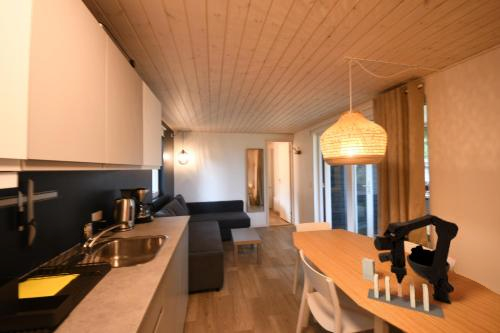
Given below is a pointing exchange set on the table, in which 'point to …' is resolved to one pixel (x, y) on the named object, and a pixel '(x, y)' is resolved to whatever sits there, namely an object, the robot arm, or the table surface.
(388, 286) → the domino
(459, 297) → the table surface
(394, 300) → the domino mat
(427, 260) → the bowl of black rocks
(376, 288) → the domino
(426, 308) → the domino
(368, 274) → the skincare box
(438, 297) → the robot arm
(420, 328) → the table surface
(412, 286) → the domino
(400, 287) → the domino
